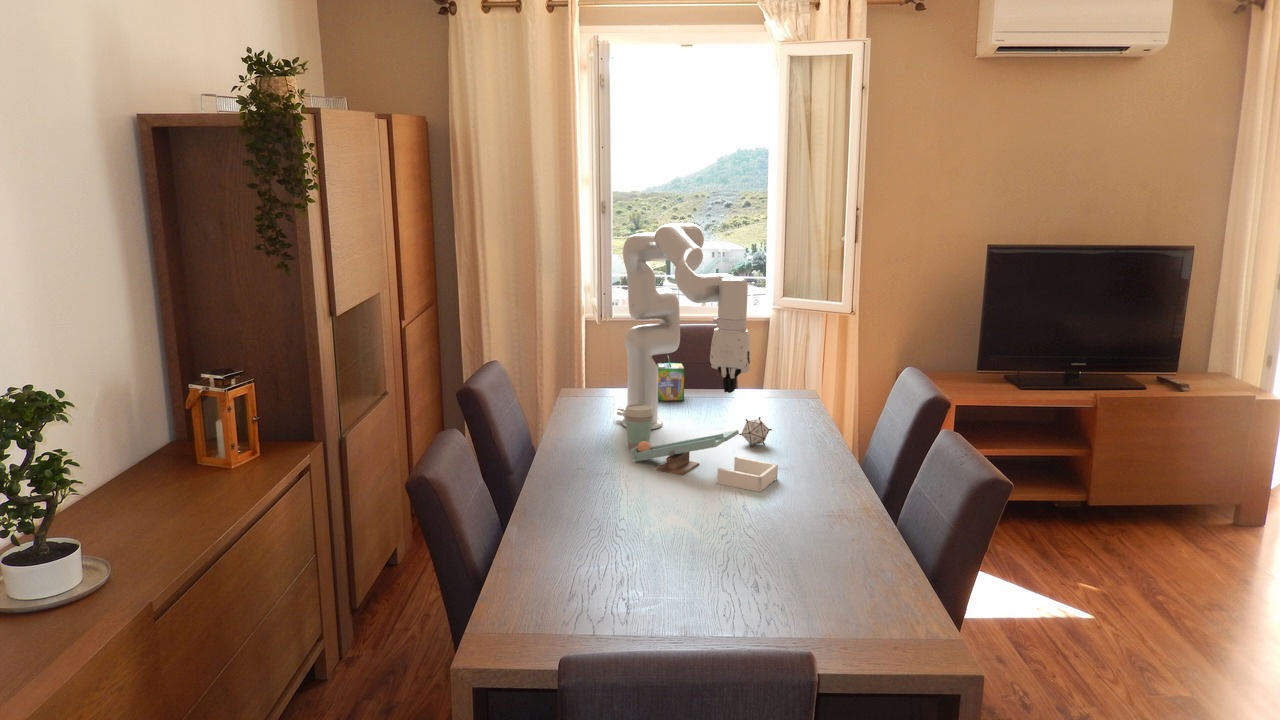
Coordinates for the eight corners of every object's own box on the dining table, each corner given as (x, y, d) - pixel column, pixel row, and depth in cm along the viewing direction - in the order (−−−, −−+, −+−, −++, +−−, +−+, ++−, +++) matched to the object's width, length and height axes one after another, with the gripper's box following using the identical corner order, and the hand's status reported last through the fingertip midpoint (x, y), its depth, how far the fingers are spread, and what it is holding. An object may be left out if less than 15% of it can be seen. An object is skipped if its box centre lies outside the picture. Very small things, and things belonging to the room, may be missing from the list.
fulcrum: (656, 469, 255) (656, 456, 254) (673, 459, 264) (673, 446, 263) (682, 475, 251) (682, 461, 250) (699, 464, 260) (699, 451, 259)
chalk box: (684, 401, 325) (685, 359, 321) (657, 401, 325) (658, 358, 321) (682, 394, 334) (683, 353, 330) (656, 394, 334) (657, 353, 330)
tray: (717, 483, 246) (717, 468, 245) (735, 470, 256) (735, 456, 255) (760, 492, 240) (760, 477, 239) (777, 479, 250) (777, 464, 249)
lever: (631, 463, 259) (627, 451, 259) (657, 448, 273) (654, 437, 272) (715, 448, 246) (711, 435, 245) (739, 433, 259) (735, 421, 259)
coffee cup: (654, 443, 278) (655, 403, 276) (651, 452, 270) (652, 411, 267) (625, 441, 279) (626, 402, 276) (622, 450, 271) (622, 410, 268)
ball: (636, 456, 261) (634, 443, 261) (642, 452, 264) (640, 440, 264) (647, 455, 259) (645, 442, 259) (653, 451, 262) (651, 439, 262)
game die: (760, 458, 278) (773, 438, 271) (733, 448, 277) (746, 427, 270) (763, 436, 284) (777, 416, 277) (737, 426, 284) (750, 405, 277)
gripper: (700, 323, 251) (698, 390, 255) (752, 329, 244) (749, 398, 248) (712, 319, 258) (710, 384, 262) (763, 325, 251) (760, 392, 255)
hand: (729, 391), depth 255 cm, fingers closed
